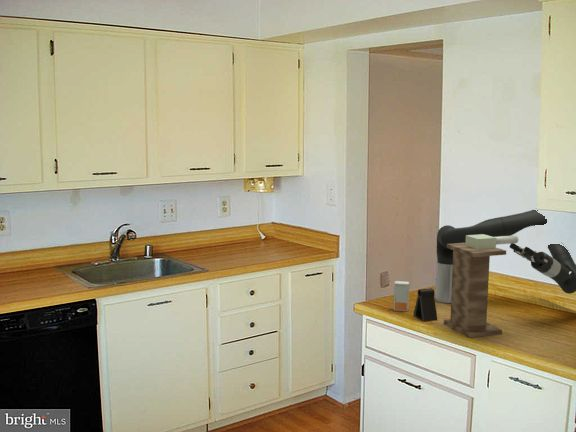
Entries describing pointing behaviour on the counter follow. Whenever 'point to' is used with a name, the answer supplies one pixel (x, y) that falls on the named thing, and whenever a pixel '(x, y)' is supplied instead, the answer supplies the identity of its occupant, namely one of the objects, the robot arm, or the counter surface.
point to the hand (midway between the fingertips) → (517, 246)
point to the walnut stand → (471, 290)
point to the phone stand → (425, 305)
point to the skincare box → (401, 296)
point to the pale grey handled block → (488, 241)
